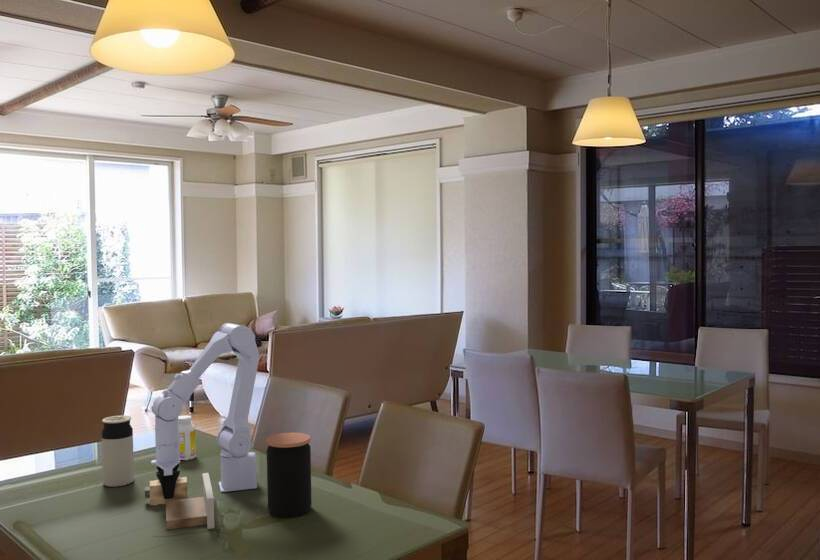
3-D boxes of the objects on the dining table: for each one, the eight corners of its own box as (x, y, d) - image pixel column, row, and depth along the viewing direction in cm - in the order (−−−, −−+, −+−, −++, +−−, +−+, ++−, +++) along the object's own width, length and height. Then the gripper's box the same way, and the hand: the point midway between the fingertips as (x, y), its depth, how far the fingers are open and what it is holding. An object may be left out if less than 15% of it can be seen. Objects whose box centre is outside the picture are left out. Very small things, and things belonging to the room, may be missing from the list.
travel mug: (115, 489, 193) (113, 423, 192) (96, 484, 197) (94, 419, 196) (140, 481, 200) (138, 417, 199) (122, 476, 204) (120, 413, 203)
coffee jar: (319, 505, 179) (318, 434, 178) (299, 520, 169) (297, 445, 168) (281, 500, 183) (280, 431, 182) (259, 515, 173) (257, 441, 172)
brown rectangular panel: (203, 504, 181) (203, 496, 181) (207, 524, 168) (206, 515, 168) (165, 508, 178) (165, 500, 178) (166, 529, 165) (166, 520, 165)
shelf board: (209, 499, 184) (208, 472, 184) (214, 528, 165) (213, 498, 165) (203, 500, 184) (202, 473, 183) (207, 528, 165) (207, 498, 164)
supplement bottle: (193, 453, 226) (192, 413, 225) (198, 459, 220) (197, 417, 220) (171, 457, 222) (170, 416, 222) (176, 462, 217) (175, 420, 216)
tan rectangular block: (186, 495, 187) (186, 476, 187) (187, 501, 183) (187, 482, 183) (145, 500, 184) (144, 481, 184) (145, 506, 180) (144, 486, 180)
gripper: (151, 437, 189) (152, 488, 189) (150, 451, 175) (151, 506, 176) (179, 434, 191) (180, 485, 192) (180, 448, 177) (181, 502, 178)
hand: (168, 495), depth 184 cm, fingers closed on tan rectangular block, 4 cm apart
